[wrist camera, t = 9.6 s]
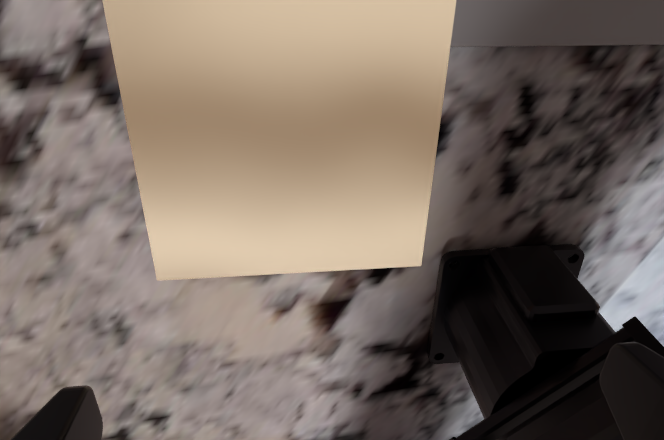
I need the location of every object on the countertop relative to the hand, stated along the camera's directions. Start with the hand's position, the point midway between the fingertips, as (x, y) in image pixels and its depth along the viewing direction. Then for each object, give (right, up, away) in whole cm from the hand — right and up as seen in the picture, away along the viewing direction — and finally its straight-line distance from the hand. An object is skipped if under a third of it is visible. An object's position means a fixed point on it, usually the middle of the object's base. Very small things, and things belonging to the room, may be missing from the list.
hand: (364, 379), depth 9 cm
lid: (-2, +5, +5) cm, 8 cm away
